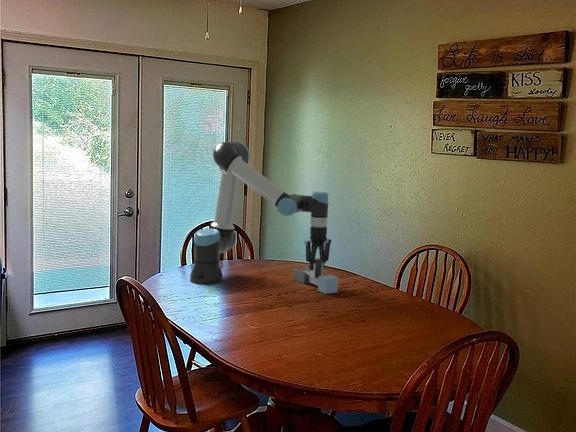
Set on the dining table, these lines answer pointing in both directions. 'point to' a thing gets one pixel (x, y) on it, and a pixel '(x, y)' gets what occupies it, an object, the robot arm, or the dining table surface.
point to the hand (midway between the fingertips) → (316, 276)
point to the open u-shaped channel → (301, 275)
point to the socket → (328, 284)
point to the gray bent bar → (317, 272)
